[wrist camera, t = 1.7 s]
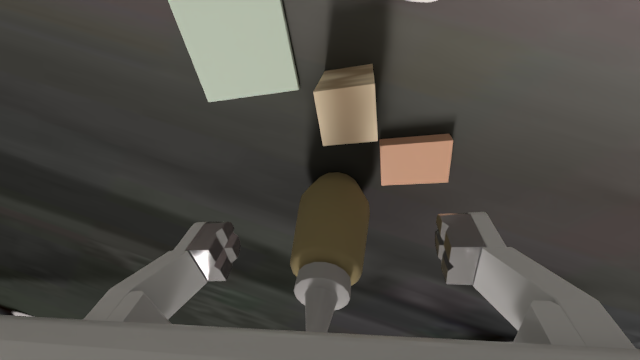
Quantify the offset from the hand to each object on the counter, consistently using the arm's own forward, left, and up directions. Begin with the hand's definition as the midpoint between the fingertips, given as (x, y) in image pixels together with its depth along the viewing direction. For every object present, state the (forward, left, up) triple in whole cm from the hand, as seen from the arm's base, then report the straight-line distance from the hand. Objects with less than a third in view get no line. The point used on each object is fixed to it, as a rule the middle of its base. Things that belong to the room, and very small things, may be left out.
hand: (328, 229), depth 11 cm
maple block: (0, 0, -19) cm, 19 cm away
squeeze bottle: (+3, +12, -19) cm, 23 cm away
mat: (+10, -6, -19) cm, 22 cm away
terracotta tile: (-6, +8, -20) cm, 22 cm away
